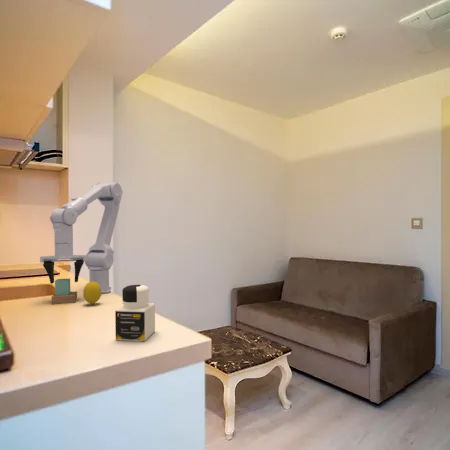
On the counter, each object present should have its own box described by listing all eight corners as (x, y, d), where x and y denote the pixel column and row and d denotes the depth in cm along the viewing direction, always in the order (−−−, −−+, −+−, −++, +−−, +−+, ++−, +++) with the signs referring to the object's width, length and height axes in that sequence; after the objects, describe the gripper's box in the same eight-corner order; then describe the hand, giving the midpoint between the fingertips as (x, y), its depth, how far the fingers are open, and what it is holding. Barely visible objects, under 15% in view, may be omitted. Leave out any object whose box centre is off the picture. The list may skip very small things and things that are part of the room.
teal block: (58, 293, 116) (57, 279, 116) (70, 292, 117) (70, 278, 117) (55, 295, 112) (54, 280, 112) (67, 294, 113) (67, 280, 113)
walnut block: (55, 301, 117) (55, 292, 117) (77, 299, 119) (77, 291, 119) (51, 305, 110) (51, 296, 110) (74, 304, 113) (74, 295, 113)
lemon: (97, 306, 107) (97, 282, 107) (80, 306, 107) (80, 282, 107) (103, 302, 113) (103, 279, 113) (87, 302, 113) (87, 279, 113)
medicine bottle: (115, 340, 76) (114, 288, 76) (128, 330, 83) (127, 282, 83) (144, 341, 75) (144, 289, 75) (155, 331, 82) (155, 283, 82)
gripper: (37, 244, 109) (37, 285, 109) (84, 243, 113) (85, 283, 113) (43, 243, 116) (43, 281, 116) (87, 242, 119) (88, 279, 120)
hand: (64, 282), depth 115 cm, fingers open, 7 cm apart
